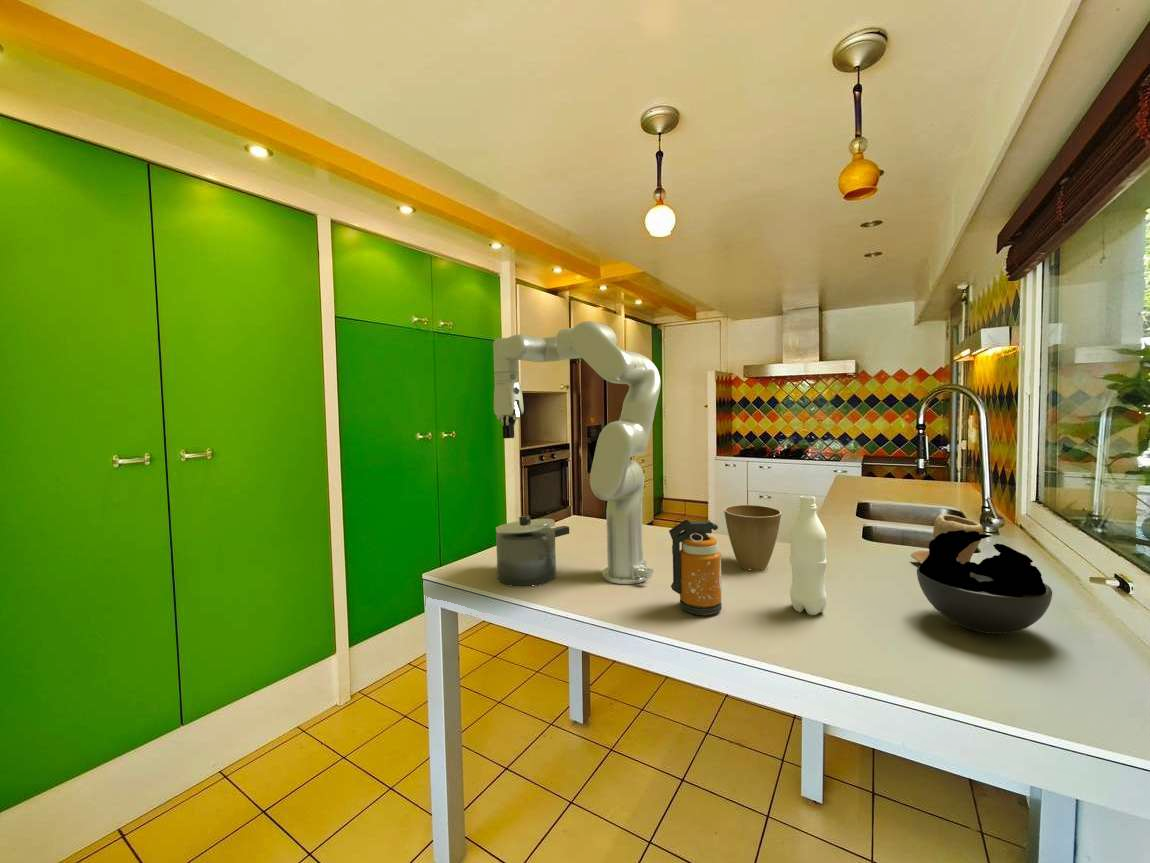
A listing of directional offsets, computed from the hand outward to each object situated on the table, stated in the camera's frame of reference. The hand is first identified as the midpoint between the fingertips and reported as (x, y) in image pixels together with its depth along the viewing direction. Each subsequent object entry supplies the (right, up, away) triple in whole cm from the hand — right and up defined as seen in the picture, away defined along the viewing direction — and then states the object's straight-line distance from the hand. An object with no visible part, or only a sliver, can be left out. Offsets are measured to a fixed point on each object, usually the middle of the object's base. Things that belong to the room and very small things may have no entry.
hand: (508, 438), depth 146 cm
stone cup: (+119, -35, -22) cm, 126 cm away
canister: (+48, -38, -41) cm, 73 cm away
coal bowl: (+100, -37, -54) cm, 120 cm away
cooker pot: (+9, -38, -14) cm, 41 cm away
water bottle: (+72, -37, -43) cm, 92 cm away
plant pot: (+71, -36, -14) cm, 80 cm away
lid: (+7, -24, -18) cm, 31 cm away
